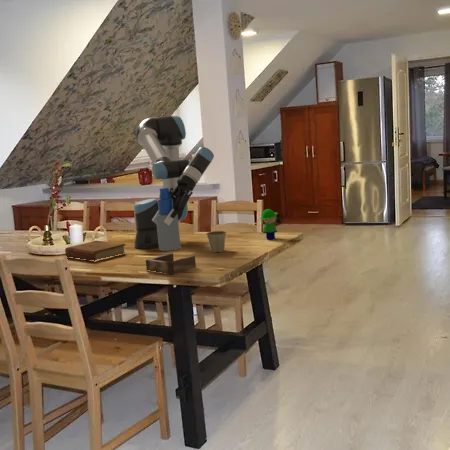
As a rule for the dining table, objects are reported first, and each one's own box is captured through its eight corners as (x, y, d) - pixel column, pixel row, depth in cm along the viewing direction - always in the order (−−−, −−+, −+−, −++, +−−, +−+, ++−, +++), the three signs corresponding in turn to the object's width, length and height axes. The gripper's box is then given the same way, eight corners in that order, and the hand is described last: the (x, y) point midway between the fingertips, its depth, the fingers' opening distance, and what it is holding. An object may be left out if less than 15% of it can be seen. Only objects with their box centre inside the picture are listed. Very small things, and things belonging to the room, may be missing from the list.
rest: (146, 271, 250) (145, 259, 250) (171, 263, 261) (170, 252, 260) (171, 274, 240) (170, 263, 240) (195, 267, 250) (194, 255, 250)
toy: (282, 238, 296) (280, 208, 294) (266, 241, 293) (264, 211, 291) (274, 236, 304) (272, 207, 302) (258, 238, 301) (256, 209, 299)
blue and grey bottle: (158, 251, 244) (152, 190, 240) (159, 247, 253) (153, 188, 249) (180, 249, 245) (174, 188, 240) (180, 245, 253) (174, 186, 249)
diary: (66, 259, 292) (64, 248, 291) (97, 251, 306) (96, 240, 305) (94, 263, 277) (93, 251, 276) (126, 255, 290) (125, 243, 289)
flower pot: (230, 248, 283) (229, 230, 281) (224, 253, 274) (222, 234, 272) (211, 248, 286) (210, 231, 284) (204, 253, 277) (203, 234, 276)
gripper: (209, 185, 246) (180, 230, 239) (180, 184, 262) (153, 226, 255) (197, 173, 242) (168, 219, 235) (169, 173, 258) (140, 215, 251)
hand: (160, 222), depth 245 cm, fingers closed on blue and grey bottle, 8 cm apart
